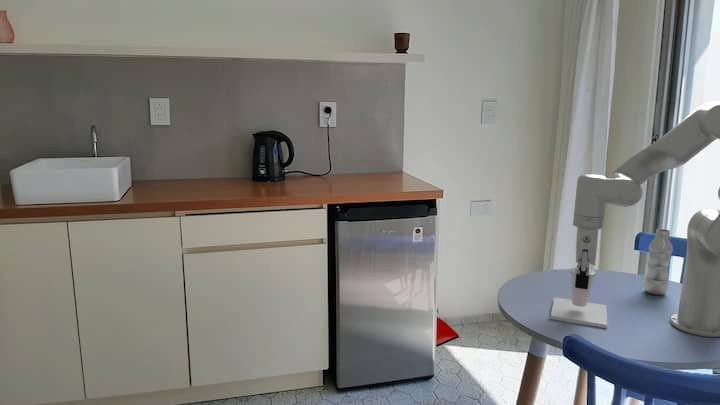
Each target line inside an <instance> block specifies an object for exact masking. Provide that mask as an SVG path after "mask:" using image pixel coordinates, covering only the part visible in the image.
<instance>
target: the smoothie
mask: <svg viewBox="0 0 720 405" xmlns="http://www.w3.org/2000/svg"><path fill="white" fill-rule="evenodd" d="M586 267H587V266H586ZM569 270H570V271H569V274H570V281H571V300H572V304H573V305H575V306H580V307H584V306H586V305H587V302H588V301H589V297H590V296H589V295H590V292H591V289H592V284H593V282H594V278H595V277H596V271H595V270H593V269H591V268H589V274H588V275H589V282H588V289H580V288H575V281H576V273H577V272H578V267H577V266H576V267H572V268H570V269H569ZM579 274H580V273H579Z"/></svg>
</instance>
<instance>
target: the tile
mask: <svg viewBox="0 0 720 405" xmlns="http://www.w3.org/2000/svg"><path fill="white" fill-rule="evenodd" d="M607 312H608V308H607V304H600V303H596V302H595V303H593V302H588V301H587V305H586V306H584V307H580V306H575V305H573V304H572V299H568V298H567V299H566V298H560V297H553V303H552V308H551V313H550V318H549V319H550V320H554V321H559V322H568V323H573V324H579V325H585V326H589V327H595V328H597V327H598V328H601V329H603V328H604V329H608V315H607V314H608V313H607Z"/></svg>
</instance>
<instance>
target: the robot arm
mask: <svg viewBox="0 0 720 405" xmlns="http://www.w3.org/2000/svg"><path fill="white" fill-rule="evenodd" d="M716 140H720V101H709V102H706V103H703V104H701V105H700V106H699V107H697V108H695V110H693V111H692V112H691V113H690V114H688V115H687V116H686V117H685V118H683V119H682V120H681V121H680V122H678V123H677V124H676V125H675V126H674V127H672V128H671V129H670V130H669V131H668V132H666V133H665V134H664V135H663V136H661V137H660V138H658V139H657V140H656V141H655V142H653V143H651V144H650V145H648V146H647V147H645V148H643V149H642V150H641V151H639V152H637V153H635V154H634V155H633V156H631V157H630V158H628V159H627V160H626V161H625V162H624V163H622V164H621V165H619V167H617V168H616V169H615V170H614V171H613V172H611V173H610V174H609V175H608V176H607V177H606V176H605V175H601V174H595V173H594V174H592V173H587V174H586V173H584V174H580V175H579V176H578V178H577V181H576V182H577V183H576V190H575V200H574V201H575V202H574V211H573V219H572V220H573V221H572V225H573V226H574V227H576V228H577V229H576V238H575V239H576V240H575V262H576V264H577V265H576V267H578V272H577V273H576V281H575V288H580V289H588V282H589V275H588V274H589V269H590V265H592V266H595V265H596V262H597V260H596V259H597V254H598V253H597V251H598V244H599V243H598V242H599V233H600V232H599V230H602V229H604V222H605V216H606V215H605V213H606V208H607V205H613V206H617V207H624V208H626V207H633V206H635V205H636V204H638V203H639V202H640V201H641V200H642V197H643V188H642V184H644V183H645V182H647V181H648V180H650V179H651V178H653V177H654V176H657V175H658V174H660V173H662V172H665V171H670V170H673V169H677V168H679V167H682V166H683V165H686V164H687V163H688V162H689V161H691V159H693V158H694V157H695V156H696V155H698V154H699V153H701V151H703V150H704V149H706V148H707V147H708V146H710V145H711V144H712V143H713V142H715V141H716ZM717 190H718V191H717V196H718V200H719V201H720V187H719V188H718V189H717ZM686 233H687V234H686V257H685V264H684V271H683V277H682V282H681V283H682V284H681V290H680V291H681V292H680V295H679V304H678V311H677V313H674V314H672V315H671V316H670V320H669V321H670V323H671V325H672V326H673V327H675V328H677V329H679V330H681V331H682V332H685V333H688V334H692V335H695V336H700V337H707V338H708V337H709V338H710V337H711V338H717V337H720V209H717V208H704V209H701V210H698V211H697V212H696V213H694V214H693V215H692V216H691V217H690V220H689V221H688V224H687V230H686ZM586 266H587V267H586ZM579 273H580V274H579Z"/></svg>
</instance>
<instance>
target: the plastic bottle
mask: <svg viewBox="0 0 720 405" xmlns="http://www.w3.org/2000/svg"><path fill="white" fill-rule="evenodd" d="M670 233H671V231H670V230H669V229H666V228H657V229H656V230H655V234H654V236H655V237H654V239H652V240H651V241H650V243H649V246H648V267H647V271H646V276H645V279H644V282H643V286H644V287H643V288H644V290H645V292H647V293H648V294H652V295H659V296H660V295H661V296H662V295H665V294H666V293H667V291H668V288H669V280H668V277H669V276H668V275H669V273H668V272H669V265H670V262H671V257H672V254H673V252H674V247H673V244H672V242H671V240H670V239H669V238H670V236H671V234H670Z"/></svg>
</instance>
